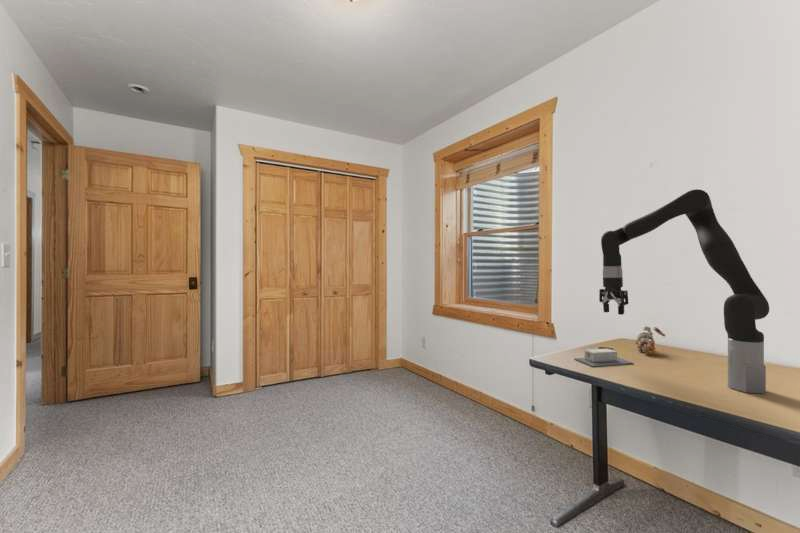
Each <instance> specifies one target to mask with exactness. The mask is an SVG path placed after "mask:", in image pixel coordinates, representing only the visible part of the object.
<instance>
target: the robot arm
mask: <svg viewBox="0 0 800 533" xmlns="http://www.w3.org/2000/svg"><path fill="white" fill-rule="evenodd" d="M682 215H685V216H686V217H687V219H688V220H689V221H690V223H691V224H692V226H693V228H694V230H695V233H696V235H697V240H698V244H699V245H700V250H701V251H702V254H703V256H704V258H705V260H706V261H707V263H708V265H709V267H710V268H711V269H712V270H713V271H714V272H715V273H716V274H717V275H718V276H720V278H722V280H724V281H725V282H726V283H727V284H728V286H729V287H730V288H731V291H732V293H733V294H731V295H729V296H728V297H727V298H726V299H725V301H724V303H723V304H724V305H723V320H724V322H723V323H724V325H723V326H724V329H725V331H726V333H727V334H726V335H727V387H729V389H730V388H731V389H732V390H736V391H740V392H742V393H751V394H766V393H767V391H766V390H767V387H766V386H767V380H766V379H767V373H766V372H767V367H766V365H765V335H764V333H763V332H762V331H759V330H758V329H757V325H756V320H761V319H764V318H766V317H767V316H768V315H769V312H770V304H769V301H768V300H767V298H766V297H765V295H764V294H763V292H762V291H761V289H760V288H759V287H758V285H757V283H756V282H755V281H754V279H753V278H752V276H751V274H750V273H749V270H748V268H747V266H746V265H745V263H744V261H743V259H742V258H741V255H740V253H739V251H738V248H737V247H736V246H735V244H734V241H733V240H732V239H731V237H730V236H729V234H728V233H727V232H726V230H725V229H724V228H723V227H722V226H721V224H720V223H719V221H718V219H717V217H716V214H715V210H714V209H713V204H712V201H711V197H710V195H709V193H708V192H706V191H705V190H703V189H691V190H689V191H687V192H685V193H682V194H681V195H680V196H678V197H677V198H675V199H674V200H672V201H670V202H669V203H667V204H665V205H663V206H661V207H660V208H657V209H656V210H654V211H652V212H650V213H648V214H645V215H643V216H641V217H639V218H637V219H634V220H632V221H629V222H628V223H626V224H624V225H623V226H622V227H619V228H617V229H615V230H607V231H606V232H604V233H603V234H602V236H601V238H600V239H601V240H600V242H601V243H600V244H601V245H600V246H601V250H602V265H603V266H602V287H603V288H600V289H599V290H598V292H599V293H598V294H599V298H598V299H599V300H598V301H599V303H601V304H602V305H603V308H602V310H603V313H610V302H611V301H612V300H614V302H616V303H617V311H618V312H617V314H618V315H619V316H620V315H621V316H622V315H624V314H625V306H627V305H629V293H628V290H627V289H625V290H622V288H623V286H624V282H623V281H624V279H623V278H624V277H623V267H622V265H623V264H622V255H621V253H620V246H621V245H623V244H625V243H627V242H629V241H631V240H633V239H637V238H638V237H642V236H643V235H646V234H648V233H650V232H652V231H654V230H656V229H657V228H659V227H661V226H662V225H663V224H665V223H667V222H668V221H670V220H672V219H674V218H677V217H679V216H682Z"/></svg>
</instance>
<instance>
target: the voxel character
mask: <svg viewBox="0 0 800 533" xmlns="http://www.w3.org/2000/svg"><path fill="white" fill-rule="evenodd" d="M642 329H643V332H641V333H639V334H638V336H637V337H636V338H635V341H634V342H635V343H634V344H635V345H637V347H636V348H637V351H638V352H641V353H644V354H645V355H649V356H651V355H652V354H655V353H658V351H657V349H656V347H655V344H656V343H655V340H654V333H653V332H652V330H654V331H655V332H656V333H657V334H658V335H661V336H662V337H663V338H665V337H666V334H665V333H664V332H663V331H662V330H660V329H659V328H658V327H656V326H654V327H653V328H652V329H651V327H649V326H644V327H643V328H642ZM644 331H647V332H644ZM650 352H651V353H650Z"/></svg>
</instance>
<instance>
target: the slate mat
mask: <svg viewBox="0 0 800 533" xmlns="http://www.w3.org/2000/svg"><path fill="white" fill-rule="evenodd" d="M574 360H575V361H577V362H579V363H582V364H584V365H586V366H589V367H590V368H595V367H596V368H598V367H610V366H612V367H613V366H624V365H626V366H627V365H634V362H633V361H629V360H627V359H623V358H622V357H618V356H617V361H601V362H592V361H589V360H586V359H585V357H575V358H574Z"/></svg>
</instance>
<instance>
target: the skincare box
mask: <svg viewBox="0 0 800 533" xmlns="http://www.w3.org/2000/svg"><path fill="white" fill-rule="evenodd" d="M617 357H618V351H616V350H613V349H610V348H596V349H595V348H593V349H584V358H585V359H586V360H589V361H592V362H601V361H617Z"/></svg>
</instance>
